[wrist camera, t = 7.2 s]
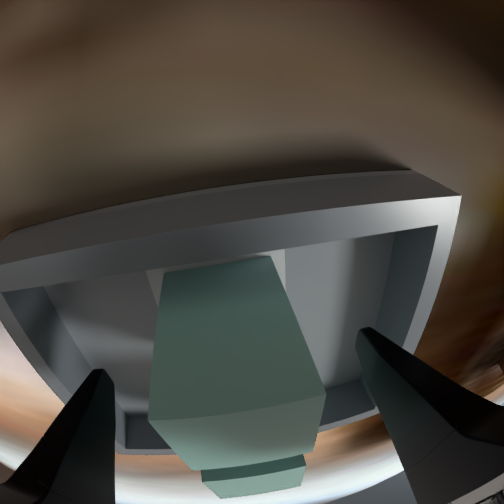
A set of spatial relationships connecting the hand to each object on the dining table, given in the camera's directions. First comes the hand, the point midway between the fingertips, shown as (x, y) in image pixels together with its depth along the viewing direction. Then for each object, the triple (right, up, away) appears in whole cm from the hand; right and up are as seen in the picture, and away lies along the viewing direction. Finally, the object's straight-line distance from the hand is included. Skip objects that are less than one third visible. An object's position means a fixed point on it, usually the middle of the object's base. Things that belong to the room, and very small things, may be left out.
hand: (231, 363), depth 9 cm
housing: (0, 0, +4) cm, 4 cm away
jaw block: (0, +2, +2) cm, 3 cm away
